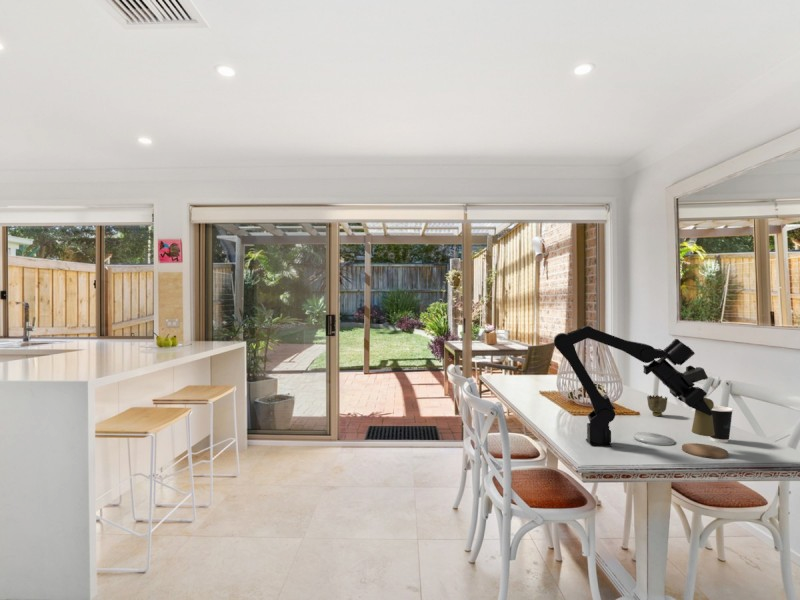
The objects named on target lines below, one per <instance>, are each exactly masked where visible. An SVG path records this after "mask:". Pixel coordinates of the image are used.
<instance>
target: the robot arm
mask: <svg viewBox="0 0 800 600" xmlns="http://www.w3.org/2000/svg"><path fill="white" fill-rule="evenodd" d="M587 339H590V340H592V341H596V342H598V343H601V344H602V345H603V344H604V345H606V346H609V347H611V348H613V349H617V350H620V351H623V352H624V353H626V354H628V355H629V356H631V357H633V358H634V359H636V360H638V361H640V362H642V363H643V365H642V367H643V374H645V375H649V374H650V373H652V374H653V376H655V377H656V378H657V379H658V380H659V381H661V383H662V384H663V385H664V386H665V387H667V388H668V390H669V393H670V394H671V395H672V396H673V397H675V398H677V400H678V401H680V402H683V403H684V404H685V405H686V406H687V407H689V408H692V409H694V410H698V411H701V412H703V413H705V414H707V415H709V416H711V415H712V414H713V413H712V411H711V410H710V409H709V407H708V406H707V404H706V403H705V401H704V398H706V396H707V394H708V393H707V392H706V391H705V390H704V389H703V388H701V387H699V386H695V385H696V384H695V383H697V382H699V381H702V380H708V379H709V377H708V375H707V373H706V371H705V369H704V367H699V366H698V367H695V366H693V365H688V366H686V367H685V371H684V372H681V371H678V370H677V369H676V368H675V367H674V366H677V365H678V366H682V365H684V363H685V362H687V361H688V360H689V359H691V358H692V357H693V356H694V355H695V354H696V353H695V352H694V350H693V349H691V347H690V346H688V345H686V344H685V343H684V342H682V341H680V340H679V339H678V338H675V339H674V340H672V342H671V343H670V344H669V345H668V346H666V347H665V348H664V349H661V348H654V347H653V346H651V345H649V344H646V343H643V342H637V341H632V340H626V339H623V338H621V337H618V336H615V335H613V334H609V333H606V332H604V331H602V330H599V329H596V328H594V327H591V326H590V325H584V326H582V327H580V328H577V329H576V330H572V331H570V332H567V333H566V332H560V333H557V334H556V335H555V337H554V339H553V343H554V347H555V348H556V349H557V350H558V352H559V353H560V354H561V355H562V356H563V357H564V359H565V360H567V362H568V363H569V365H570V368H571V369H572V370H573V372H574V374H575V375H576V377H577V379H578V380H579V382H580V384H581V385H582V387H583V389H584V391H585V392H586V395H587V396H588V398H589V400H590V403H591V406H592V409H593V410H592V411H591V412H590V413H589V414H588V415H587V419H588V421H589V422H587V423H586V438H585V441H586V442H587V443H588V444H589V445H590V446H592V447H593V446H594V447H596V446H597V447H612V430H611V429H610V423H611V422H612V421H614V420H615V417H616V411H615V410H616V407H615V406H614V404H613V403H612V402H611V399H610V398H609V396H608V395H607V394H606V393H605V394H604V395H602V393H600V391H599V389H598V388H597V386H596V385H595V383H594V381H593V379H592V378H591V376H590V375H589V373H588V371H587V369H586V368H585V366H584V364H583V363H582V361H581V359H580V358H579V356H578V353H577V351H576V347H575V344H577V343H580V342H582V341H584V340H587ZM666 359H667V360H666ZM668 361H669V362H668ZM644 363H645V364H648V365H644Z"/></svg>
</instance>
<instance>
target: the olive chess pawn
mask: <svg viewBox="0 0 800 600" xmlns="http://www.w3.org/2000/svg"><path fill="white" fill-rule="evenodd" d="M704 401H705V403H706V404H707V406H708V407H709V409H710V410H711V411H712V409H713V407H714V406H715V403H714V401H713V400H712V399H710V398H707V397H704ZM694 410H695V411H694V417H693V420H692V428H691V433H692V434H695V435H698V436H703V437H710V436H714V435H715V433H714V425H713V418H712V415H711V416H709V415H707V414H705V413H703V412H701V411H698V410H696V409H694Z"/></svg>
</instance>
